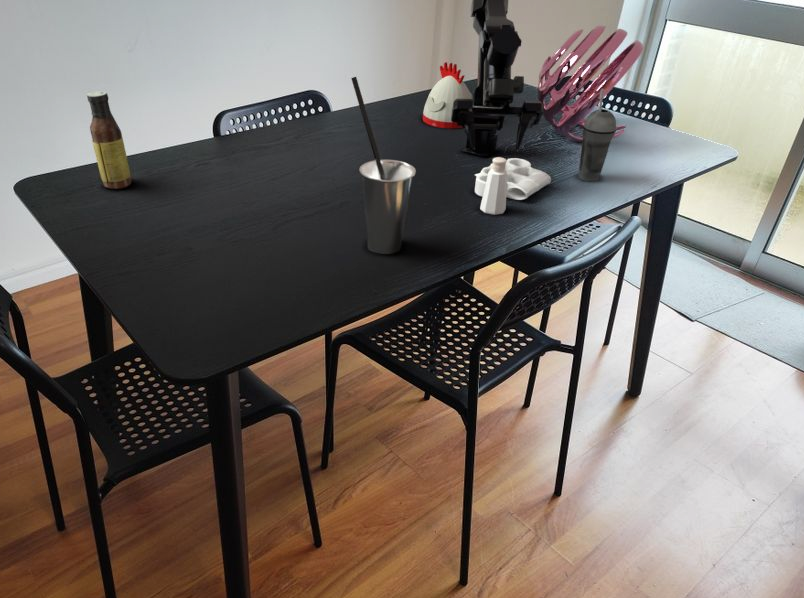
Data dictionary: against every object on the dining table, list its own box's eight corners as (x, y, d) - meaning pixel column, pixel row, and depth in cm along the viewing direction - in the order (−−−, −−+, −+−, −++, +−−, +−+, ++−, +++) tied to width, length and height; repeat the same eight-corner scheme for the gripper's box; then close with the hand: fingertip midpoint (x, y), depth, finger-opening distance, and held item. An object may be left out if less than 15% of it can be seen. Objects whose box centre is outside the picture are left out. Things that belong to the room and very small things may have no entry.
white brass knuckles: (517, 208, 151) (459, 189, 158) (556, 183, 162) (499, 167, 169) (520, 193, 149) (460, 175, 156) (558, 169, 160) (501, 153, 167)
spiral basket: (691, 58, 178) (611, -17, 176) (657, 113, 163) (570, 32, 161) (612, 128, 202) (542, 63, 200) (577, 181, 187) (500, 112, 185)
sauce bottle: (137, 181, 159) (121, 90, 147) (121, 192, 154) (103, 99, 142) (112, 177, 161) (94, 87, 149) (95, 188, 156) (76, 95, 144)
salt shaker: (510, 210, 150) (518, 159, 143) (494, 217, 147) (502, 166, 140) (490, 202, 153) (497, 152, 147) (474, 209, 150) (480, 158, 144)
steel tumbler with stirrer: (349, 233, 140) (351, 75, 122) (405, 232, 141) (415, 75, 123) (353, 260, 131) (356, 94, 114) (414, 258, 132) (426, 93, 114)
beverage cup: (606, 185, 161) (627, 95, 150) (573, 182, 163) (591, 92, 151) (603, 173, 167) (623, 85, 156) (571, 170, 168) (589, 83, 157)
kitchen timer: (445, 109, 205) (450, 54, 196) (483, 121, 197) (490, 64, 188) (412, 119, 197) (416, 62, 188) (449, 131, 189) (455, 73, 180)
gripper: (457, 58, 145) (455, 130, 142) (550, 61, 144) (549, 133, 141) (452, 86, 156) (449, 154, 153) (537, 89, 155) (536, 157, 152)
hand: (495, 149), depth 150 cm, fingers open, 9 cm apart
